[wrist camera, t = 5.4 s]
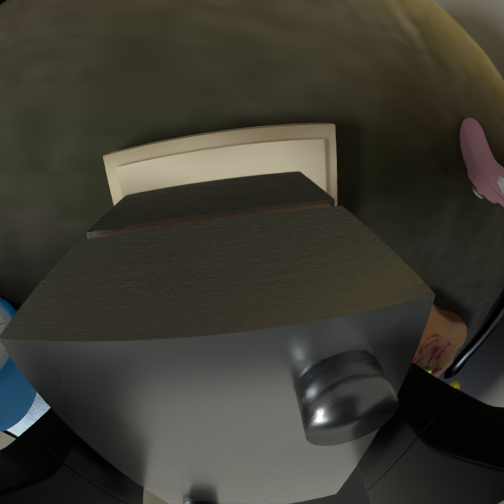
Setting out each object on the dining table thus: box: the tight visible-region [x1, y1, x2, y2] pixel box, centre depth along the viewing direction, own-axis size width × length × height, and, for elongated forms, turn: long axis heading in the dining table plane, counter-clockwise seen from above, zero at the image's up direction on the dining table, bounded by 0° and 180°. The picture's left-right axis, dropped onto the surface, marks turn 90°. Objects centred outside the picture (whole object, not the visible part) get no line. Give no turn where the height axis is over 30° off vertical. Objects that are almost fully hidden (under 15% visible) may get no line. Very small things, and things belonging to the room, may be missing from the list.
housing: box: [0, 171, 435, 504], centre depth 7 cm, size 5×8×7 cm, turn 5°
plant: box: [412, 304, 467, 390], centre depth 23 cm, size 20×20×11 cm
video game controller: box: [459, 118, 504, 207], centre depth 16 cm, size 10×5×7 cm, turn 78°
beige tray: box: [103, 123, 337, 206], centre depth 17 cm, size 10×13×2 cm
